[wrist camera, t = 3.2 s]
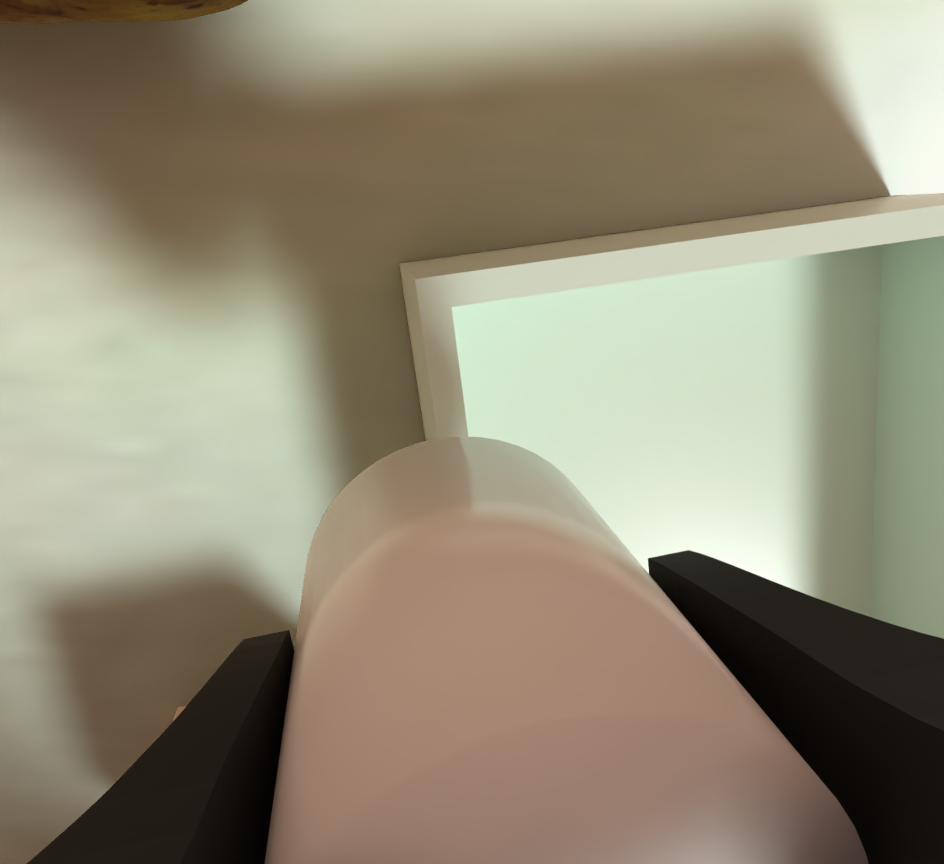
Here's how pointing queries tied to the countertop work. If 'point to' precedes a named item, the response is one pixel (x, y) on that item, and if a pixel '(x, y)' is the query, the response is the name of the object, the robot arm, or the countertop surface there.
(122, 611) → the countertop surface
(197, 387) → the countertop surface
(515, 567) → the pale pink egg
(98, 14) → the potato
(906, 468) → the tote
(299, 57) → the countertop surface
